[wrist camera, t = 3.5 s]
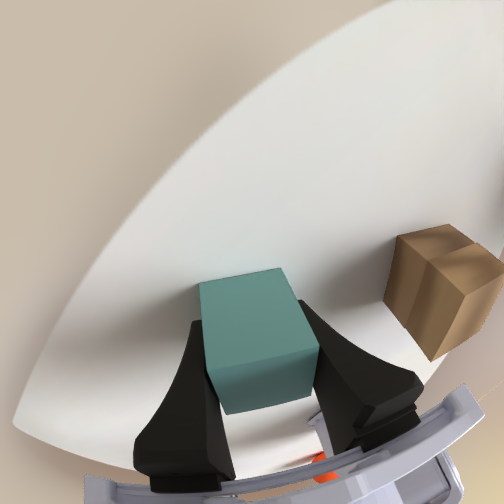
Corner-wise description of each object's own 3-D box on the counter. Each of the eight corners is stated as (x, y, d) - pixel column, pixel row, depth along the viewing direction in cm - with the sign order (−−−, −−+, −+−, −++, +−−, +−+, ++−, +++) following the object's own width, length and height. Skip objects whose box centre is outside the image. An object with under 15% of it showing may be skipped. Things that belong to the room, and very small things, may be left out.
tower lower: (381, 298, 17) (404, 328, 14) (395, 233, 14) (427, 260, 11) (430, 281, 17) (453, 305, 15) (446, 222, 15) (476, 244, 12)
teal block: (214, 337, 15) (226, 415, 11) (199, 283, 13) (206, 370, 8) (282, 323, 15) (310, 395, 11) (280, 267, 13) (319, 345, 9)
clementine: (333, 453, 40) (344, 481, 34) (300, 463, 39) (310, 492, 33) (346, 441, 36) (359, 473, 30) (310, 452, 35) (322, 486, 29)
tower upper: (405, 327, 14) (430, 362, 12) (427, 260, 11) (465, 296, 9) (454, 303, 15) (479, 330, 12) (477, 242, 12) (509, 269, 9)
